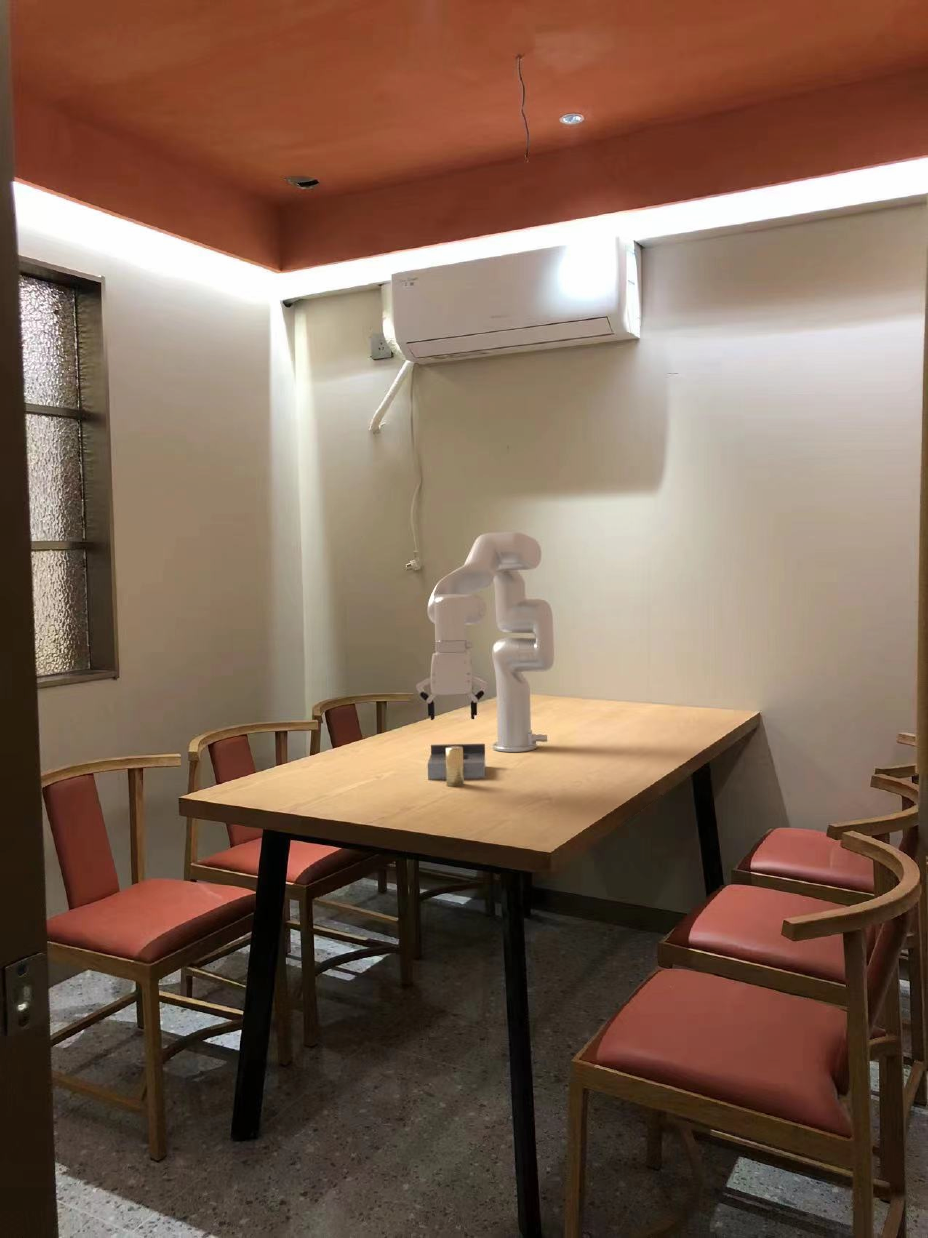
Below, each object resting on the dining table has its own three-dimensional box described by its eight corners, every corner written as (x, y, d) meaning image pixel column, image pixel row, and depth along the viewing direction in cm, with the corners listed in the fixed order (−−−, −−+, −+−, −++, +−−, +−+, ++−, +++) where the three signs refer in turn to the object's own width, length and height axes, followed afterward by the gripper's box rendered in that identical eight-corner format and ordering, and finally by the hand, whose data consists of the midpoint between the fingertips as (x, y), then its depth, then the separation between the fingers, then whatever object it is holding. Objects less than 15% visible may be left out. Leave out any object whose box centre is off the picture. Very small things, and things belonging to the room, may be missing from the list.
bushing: (464, 782, 237) (463, 746, 236) (463, 786, 233) (462, 749, 232) (447, 783, 237) (445, 746, 236) (446, 787, 233) (444, 749, 232)
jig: (485, 766, 254) (484, 743, 254) (484, 778, 240) (483, 754, 240) (432, 767, 255) (431, 744, 255) (428, 779, 241) (427, 755, 241)
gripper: (487, 645, 236) (489, 715, 237) (416, 647, 237) (418, 717, 237) (487, 648, 228) (488, 720, 229) (413, 649, 229) (415, 722, 230)
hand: (452, 718), depth 233 cm, fingers open, 9 cm apart
